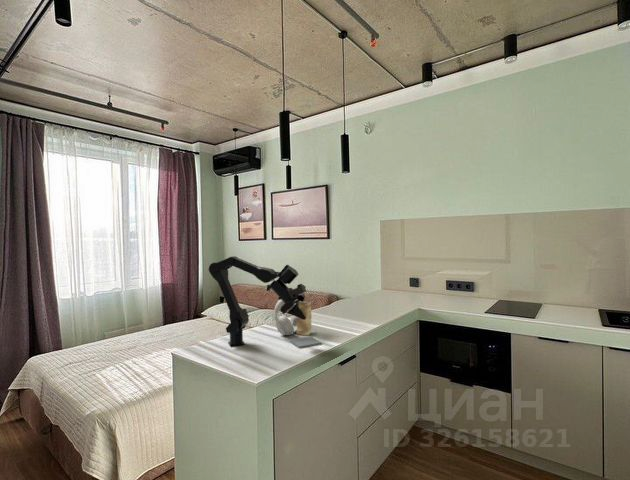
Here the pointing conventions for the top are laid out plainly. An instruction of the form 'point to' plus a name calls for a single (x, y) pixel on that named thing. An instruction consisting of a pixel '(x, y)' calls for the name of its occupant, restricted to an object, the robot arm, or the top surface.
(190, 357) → the top surface
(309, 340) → the rubber mat
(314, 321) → the top surface
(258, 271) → the robot arm
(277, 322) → the headphones
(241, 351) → the top surface
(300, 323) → the oak block
